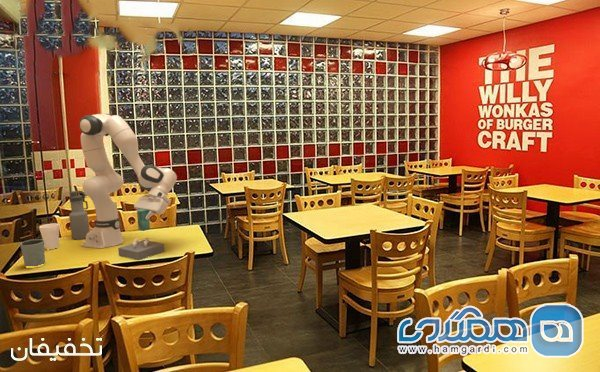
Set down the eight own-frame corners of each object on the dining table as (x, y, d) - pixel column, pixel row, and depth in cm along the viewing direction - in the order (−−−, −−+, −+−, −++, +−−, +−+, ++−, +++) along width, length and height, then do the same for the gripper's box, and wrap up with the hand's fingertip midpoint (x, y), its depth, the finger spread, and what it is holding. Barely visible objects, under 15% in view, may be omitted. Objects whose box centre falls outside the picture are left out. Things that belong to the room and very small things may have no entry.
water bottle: (82, 234, 276) (76, 189, 271) (94, 235, 272) (88, 189, 267) (68, 239, 266) (62, 192, 262) (80, 240, 263) (74, 193, 258)
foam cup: (41, 252, 243) (38, 228, 241) (43, 247, 251) (40, 224, 249) (61, 249, 247) (58, 226, 244) (62, 244, 255) (59, 222, 253)
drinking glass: (36, 261, 227) (32, 238, 225) (52, 262, 224) (49, 239, 222) (18, 268, 217) (14, 244, 215) (35, 269, 215) (31, 245, 213)
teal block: (138, 229, 231) (136, 210, 229) (145, 228, 234) (143, 209, 232) (143, 230, 228) (142, 211, 227) (150, 229, 232) (148, 210, 230)
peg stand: (118, 255, 231) (117, 242, 230) (145, 247, 244) (143, 234, 243) (138, 260, 222) (137, 246, 221) (164, 251, 235) (163, 238, 234)
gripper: (140, 190, 239) (125, 212, 233) (165, 194, 228) (151, 217, 222) (147, 197, 244) (133, 219, 237) (173, 201, 233) (159, 224, 226)
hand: (142, 218), depth 230 cm, fingers closed on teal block, 4 cm apart
